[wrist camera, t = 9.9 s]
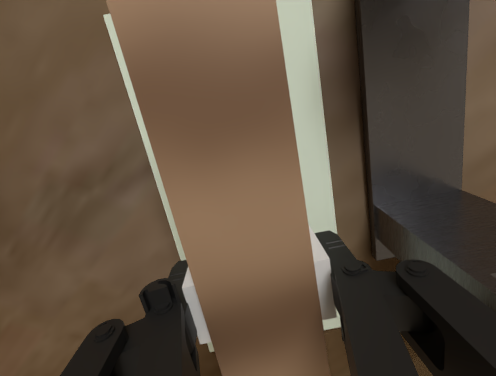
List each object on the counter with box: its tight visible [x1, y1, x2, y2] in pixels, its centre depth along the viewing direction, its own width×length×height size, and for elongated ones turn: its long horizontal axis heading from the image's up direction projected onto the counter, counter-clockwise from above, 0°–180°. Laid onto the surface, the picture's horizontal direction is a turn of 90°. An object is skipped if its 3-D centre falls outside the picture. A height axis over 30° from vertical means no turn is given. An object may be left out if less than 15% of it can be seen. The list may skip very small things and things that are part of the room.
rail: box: [106, 0, 330, 376], centre depth 12 cm, size 24×4×6 cm, turn 11°
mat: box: [103, 0, 341, 352], centre depth 21 cm, size 28×13×1 cm, turn 11°
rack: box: [355, 0, 496, 312], centre depth 14 cm, size 25×7×12 cm, turn 11°
